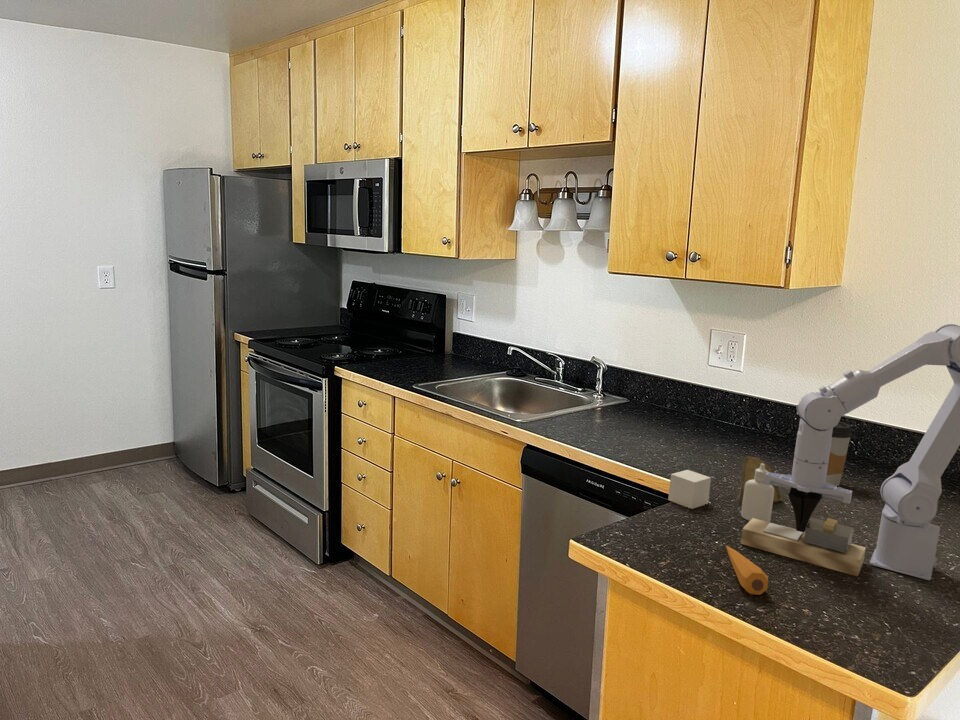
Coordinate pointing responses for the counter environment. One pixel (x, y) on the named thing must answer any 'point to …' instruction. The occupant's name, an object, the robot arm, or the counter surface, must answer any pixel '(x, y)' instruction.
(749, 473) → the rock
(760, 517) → the eye dropper bottle
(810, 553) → the body
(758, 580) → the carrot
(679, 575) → the counter surface
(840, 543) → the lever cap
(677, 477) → the white cube
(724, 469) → the counter surface
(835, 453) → the coffee cup
